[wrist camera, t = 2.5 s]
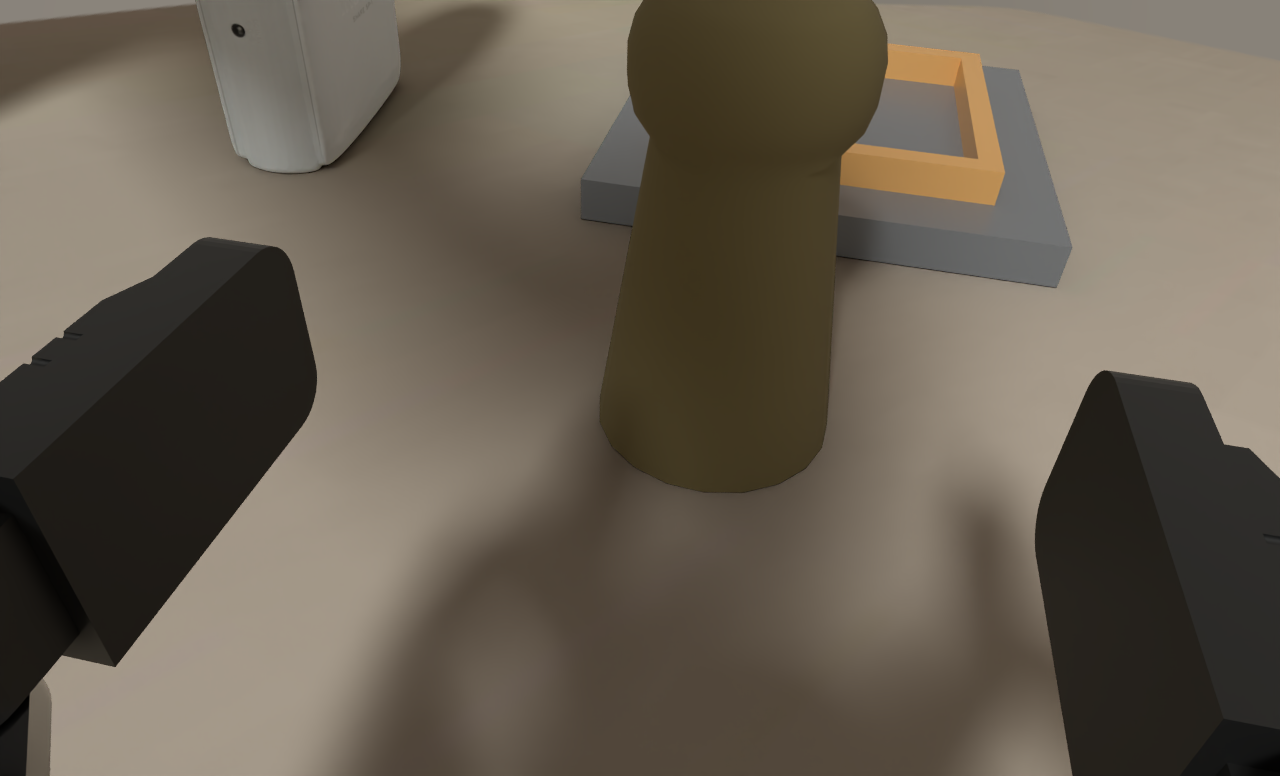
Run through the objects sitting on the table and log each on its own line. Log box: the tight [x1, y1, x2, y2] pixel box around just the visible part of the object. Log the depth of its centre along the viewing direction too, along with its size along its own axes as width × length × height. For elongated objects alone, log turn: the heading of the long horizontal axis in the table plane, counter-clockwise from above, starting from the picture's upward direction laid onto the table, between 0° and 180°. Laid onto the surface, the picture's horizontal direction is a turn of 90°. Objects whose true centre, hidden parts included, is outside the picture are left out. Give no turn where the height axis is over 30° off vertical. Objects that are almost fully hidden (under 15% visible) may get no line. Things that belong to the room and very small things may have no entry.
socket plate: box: [581, 44, 1072, 288], centre depth 36 cm, size 16×16×3 cm
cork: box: [600, 0, 888, 493], centre depth 21 cm, size 6×6×11 cm
